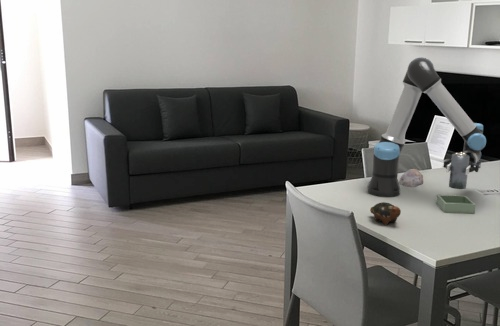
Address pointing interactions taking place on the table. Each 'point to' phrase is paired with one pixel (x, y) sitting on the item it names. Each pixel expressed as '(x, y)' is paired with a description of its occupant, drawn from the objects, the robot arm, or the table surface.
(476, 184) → the table surface
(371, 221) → the table surface
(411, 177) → the stone
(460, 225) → the table surface
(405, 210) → the table surface
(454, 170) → the can
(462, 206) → the bin
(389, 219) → the decorative turtle
